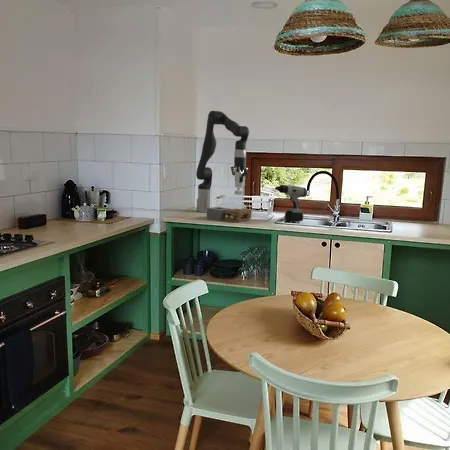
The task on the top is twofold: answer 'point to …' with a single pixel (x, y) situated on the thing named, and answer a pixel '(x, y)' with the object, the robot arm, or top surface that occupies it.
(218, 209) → the grey square box
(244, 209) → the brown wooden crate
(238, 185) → the steel peg
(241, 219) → the socket block
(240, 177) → the robot arm
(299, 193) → the cordless drill
